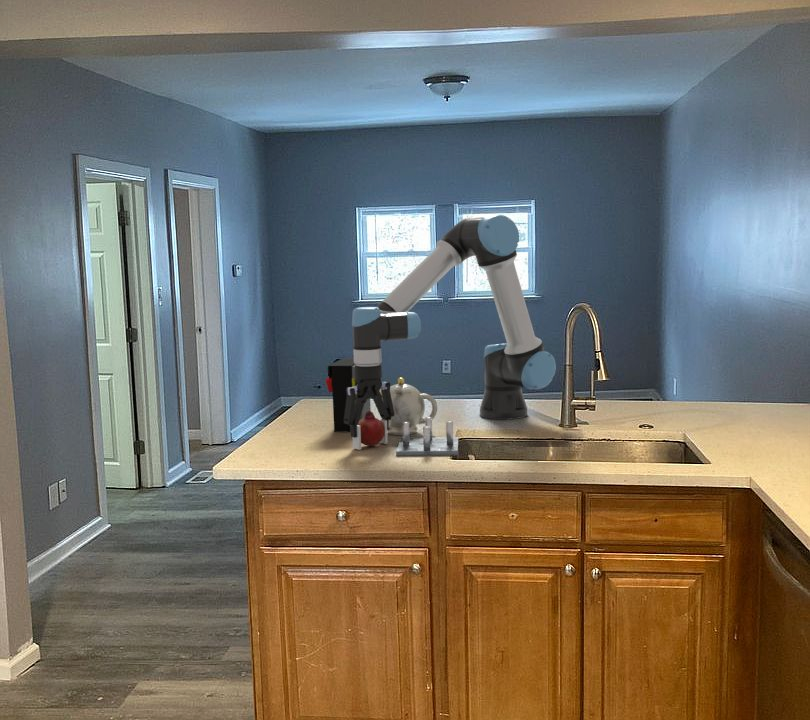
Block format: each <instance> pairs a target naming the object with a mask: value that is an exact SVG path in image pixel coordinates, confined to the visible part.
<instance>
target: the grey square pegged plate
mask: <svg viewBox="0 0 810 720" xmlns="http://www.w3.org/2000/svg"><path fill="white" fill-rule="evenodd" d="M424 419H425V426H423V427H422V436H423V437H410V435H409V422H402V428H403V435H402V437H401V438H400V440H399V441H398V442H399V443H398V446H397V448H396V451H395V454H396V457H407V456H408V457H410V456H414V457H415V456H416V457H418V456H422V457H423V456H424V457H425V456H427V457H428V456H458V452H459V437H458V436H454V422H453V421H450V420H448V421H445V426H446V427H445V431H446V432H445V433H446V434H445V435H446V436H445V437H444V436H443V437H442V436H440V437H439V436H438V437H433V420H432V417H429V416H425V418H424Z"/></svg>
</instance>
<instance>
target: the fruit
mask: <svg viewBox="0 0 810 720" xmlns="http://www.w3.org/2000/svg"><path fill="white" fill-rule="evenodd" d="M372 412H373V411H372V410H371V411H368V412H366V414H365V418H363V419H361V420H360V421H359V422H358V425H360V430H361V445H364V446H367V447H369V446H370V447H371V446H372V447H375V446H377V445H379V444H380V441H381V440H382V439H383V437H384V433H385V429H384V425H383V423H382V422H381V421H380V420H379V419H380V418H379V419H378V418H377V417H375V414H374V412H373V413H372ZM370 447H369V448H370ZM372 447H371V448H372Z"/></svg>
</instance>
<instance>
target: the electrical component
mask: <svg viewBox="0 0 810 720" xmlns="http://www.w3.org/2000/svg"><path fill="white" fill-rule="evenodd" d="M355 365H356V364H355V363H354V357H343V358H340V359H339V360H337V361H335V362H333V363H331V364H329V365H328V366H327V376H328V378H326V379H325V382H326V386H327V391H328V393H332V410H333V430H334V433H350V425H349V424H345V423H344V414H345V406H346V398H347V394H346V388H347V387H350V388H351V387H354V386H355V383H356V380H355V378H354V366H355ZM356 392H357V391H356ZM356 396H357V394H356ZM355 402H356V399H355ZM371 408H372V407H371V398H369V399H367V401H366V402H365V404H364V407H363V410H362V413H361V416H360V419H359V421H360V420H361V419H363V418H365V414H366V412H368V411H371V412H372V413H373V414H374V412H373V411H372V409H371Z"/></svg>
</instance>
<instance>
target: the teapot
mask: <svg viewBox="0 0 810 720" xmlns="http://www.w3.org/2000/svg"><path fill="white" fill-rule="evenodd" d="M379 391H380V393H381V389H380V390H379ZM390 393H391V399H392V404H393V409H394V414H395V415H394V416H393V417H391V420H389V430H388V431H387V433H388V434H390V435H394V436H403V428H402V422H409V436H410V435H413V434H416V433H417V432H418V425H424V424H425V418H423V417H424V415H425V411H426V403H425V400H426V401H429V402H430V403H431V406H432V407H431V408H432V409H431V413H430V415H429V416H428V417H432V421H433V420H434V419H435V417H436V416H437V412H438V403H437V401H436V399H435V398H434V397H433V396H432V395H430V394H428V393H421V392H420V391H419V390H418V389H417V388H416V387H415V386H413V385H411V384H408V383H405V378H404V377H398V378H397V384H396V383H395V384H393V385H390ZM381 396H382V393H381ZM382 400H383V398H382Z"/></svg>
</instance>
